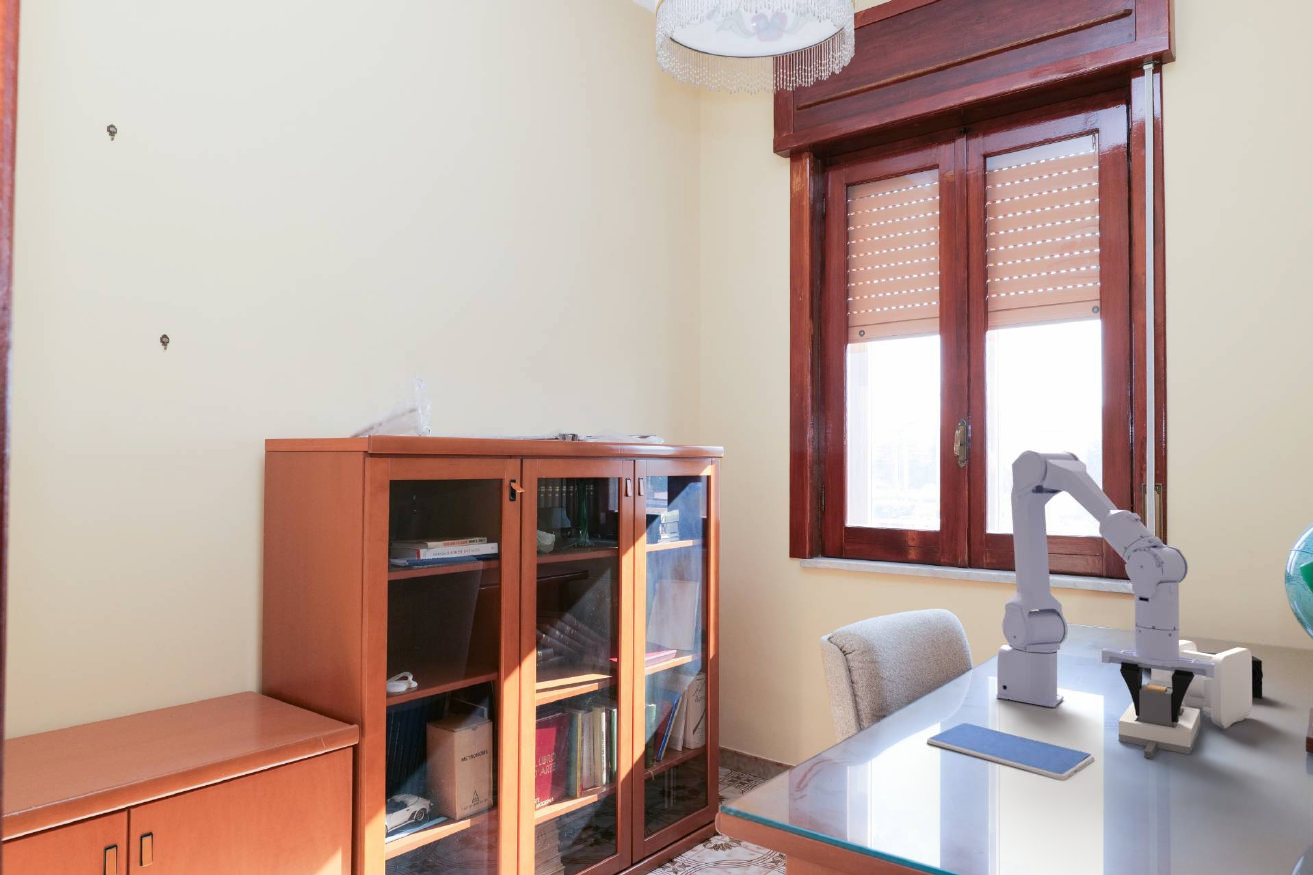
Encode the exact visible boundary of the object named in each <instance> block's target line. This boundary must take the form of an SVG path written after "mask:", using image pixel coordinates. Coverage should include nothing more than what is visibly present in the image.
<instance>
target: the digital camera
mask: <svg viewBox="0 0 1313 875" xmlns="http://www.w3.org/2000/svg"><path fill="white" fill-rule="evenodd" d="M1199 652H1200V653H1206V654H1212V655H1216V654H1218V653H1217V652H1206V651H1205V652H1204V651H1203V652H1202V651H1199ZM1251 656H1252V655H1251ZM1263 678H1264V673H1263V660H1261V659H1259V658H1258V657H1256V656H1252V699H1263Z"/></svg>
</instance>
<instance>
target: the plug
mask: <svg viewBox="0 0 1313 875" xmlns="http://www.w3.org/2000/svg"><path fill="white" fill-rule="evenodd" d="M1172 703H1173V695H1172V689H1170V688H1167V687H1163V686H1156V685H1150V684H1149V685H1147V684H1143V683H1142V687H1141V688H1140V690H1139V705H1140V722H1143V723H1149V724H1155V725H1160V726H1166V727H1172V728H1174V722H1172Z"/></svg>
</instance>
